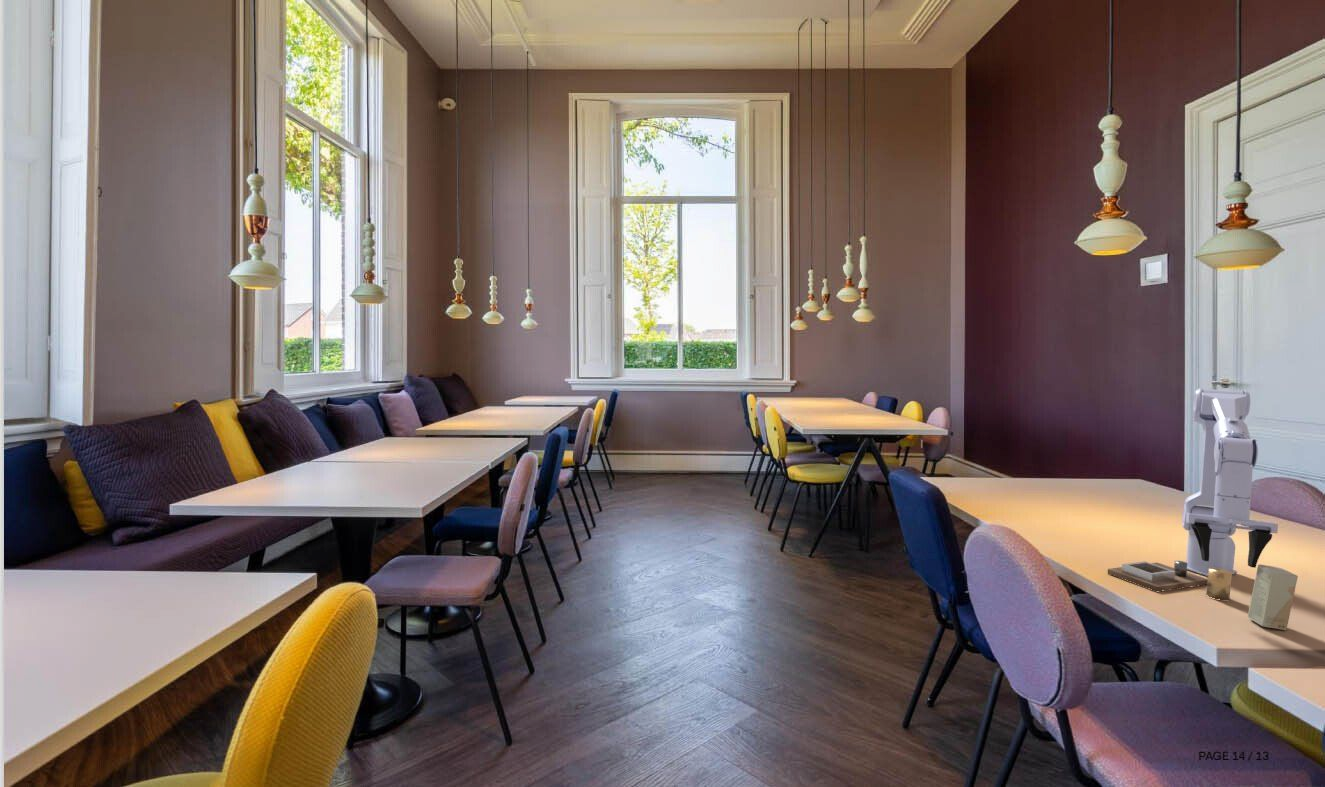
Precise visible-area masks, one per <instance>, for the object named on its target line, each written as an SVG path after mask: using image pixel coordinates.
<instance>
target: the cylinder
mask: <svg viewBox="0 0 1325 787" xmlns="http://www.w3.org/2000/svg"><path fill="white" fill-rule="evenodd" d="M1232 577H1233V574H1232V572H1231V571H1229V570H1227V569H1223V568H1216V567H1210V568H1208V576H1207V579H1208V580H1207V585H1206V594H1205V596H1206V595H1208V596H1209V597H1212V598H1215V599H1220V600H1229V599H1231V590H1232ZM1209 597H1208V598H1209ZM1212 598H1211V599H1212ZM1215 599H1214V600H1215ZM1220 600H1219V601H1220ZM1229 601H1230V600H1229Z"/></svg>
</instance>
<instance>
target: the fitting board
mask: <svg viewBox="0 0 1325 787" xmlns="http://www.w3.org/2000/svg"><path fill="white" fill-rule="evenodd" d="M1187 564H1188V563H1186V561H1182V560H1174V565H1173V566H1174V567H1172V566H1169V565H1165V564H1163V563H1159V562H1148V561H1146V560H1143V561H1136V562H1128V563H1122V565H1121V567H1119V566H1118V567H1113V568H1108V569H1107V573H1108V575H1109V574H1111V575H1110V576H1112V575H1115V576H1117V577H1120V578H1123V579H1126V580H1128V581H1131V582H1134V583H1136V584H1139V585H1142V586H1144V587H1147V588H1150V589H1152V590H1151V591H1153V590H1155V591H1162V590H1168V591H1170V590H1169V589H1175V590H1178V589H1177V588H1182V587H1189V588H1191V587H1190V586H1195V587H1199V586H1198V585H1202V586H1206V585H1205V584H1207V580H1208V578H1206V577H1202V576H1199V575H1197V574H1192V573H1191V572H1188V570H1187ZM1115 576H1114V577H1115ZM1117 577H1116V578H1117ZM1120 578H1119V579H1120ZM1123 579H1122V580H1123ZM1126 580H1125V581H1126ZM1128 581H1127V582H1128ZM1131 582H1130V583H1131ZM1134 583H1133V584H1134ZM1136 584H1135V585H1136ZM1139 585H1138V586H1139ZM1142 586H1141V587H1142ZM1144 587H1143V588H1144ZM1147 588H1146V589H1147ZM1150 589H1149V590H1150ZM1182 589H1183V588H1182ZM1155 591H1154V592H1155ZM1162 592H1163V591H1162Z"/></svg>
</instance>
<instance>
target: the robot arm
mask: <svg viewBox="0 0 1325 787" xmlns="http://www.w3.org/2000/svg"><path fill="white" fill-rule="evenodd" d="M1250 408H1251V394H1250V393H1249V392H1248V390H1244V389H1243V390H1233V389H1232V390H1231V389H1209V388H1208V389H1207V388H1201V387H1200V388H1198V389H1196V390H1195V391H1194V396H1193V408H1192V417H1193V421H1194V422H1195V423H1198V424H1201V426H1202V429H1203V430H1202V431H1203V443H1202V456H1201V470H1200V471H1201V472H1200V483H1199V491H1198V492H1196V493H1193V494H1190V495H1189V496H1187V497H1186V498H1185V500H1184V506H1183V509H1182V518H1181V520H1182V522H1181V524H1182V528H1183V529H1184V530H1185V531H1188V536H1187V537H1188V538H1187V546H1186V548H1187V549H1186V561H1185V562H1186V563H1188V564H1187V571H1191V572H1194V573H1197V574H1199V575H1203V576H1207V577H1208V568H1210V567H1216V568H1223V569H1227V570H1229V571H1231V572H1232V575H1233V574H1238V570H1235V569H1234V565H1235V556H1236V555H1235V553H1236V544H1235V542H1234V539H1233V538H1232V537H1231V536H1233V535H1234V534H1236V530H1237V529H1238V530H1239V529H1240V530H1247V531H1248V530H1249V531H1248V556H1247V566H1248V567H1250V568H1255V569H1257V564H1258V561H1259V560H1260V557H1261V554H1262V552H1263V551H1264V549H1265V547H1266V546H1267V545H1268V544H1269V542H1270V541H1271V540H1272V538H1273V534H1278V532H1279V530H1278V529H1279V528H1278V527H1279V524H1278V523H1276V522H1272V521H1271V522H1270V521H1261V520H1255V519H1250V517H1251V516H1250V515H1251V501H1252V499H1251V498H1252V484H1253V471H1254V470H1253V468H1255V467H1256V464H1257V461H1258V456H1259V448H1258V442H1257V439H1256V438H1254V437H1250V432H1249V429H1248V426H1247V423H1246V422H1245V419H1246V418H1247V416H1249V413H1250V410H1251V409H1250Z"/></svg>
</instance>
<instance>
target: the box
mask: <svg viewBox="0 0 1325 787" xmlns="http://www.w3.org/2000/svg"><path fill="white" fill-rule="evenodd" d="M1256 569H1257V570H1256V575H1255V578H1254V583H1253V589H1252V594H1251V598H1250V603H1249V608H1248V613H1247V618H1248V619H1250V620H1251V621H1253V622H1255V623H1256V624H1257V625H1260V626H1261V627H1265V628H1269V629H1271V628H1272V629H1274V630H1276V629H1277V630H1282V631H1287V629H1288V624H1289V620H1290V615H1291V610H1292V607H1293V606H1292V605H1293V600H1294V596H1295V590H1296V586H1297V583H1298V582H1297V581H1298V577H1299V576H1298V575H1297V574H1295V573H1292V572H1290V571H1288V570H1286V569H1284V568H1282V567H1279V566H1271V565H1264V564H1258V565H1257V567H1256Z"/></svg>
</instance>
